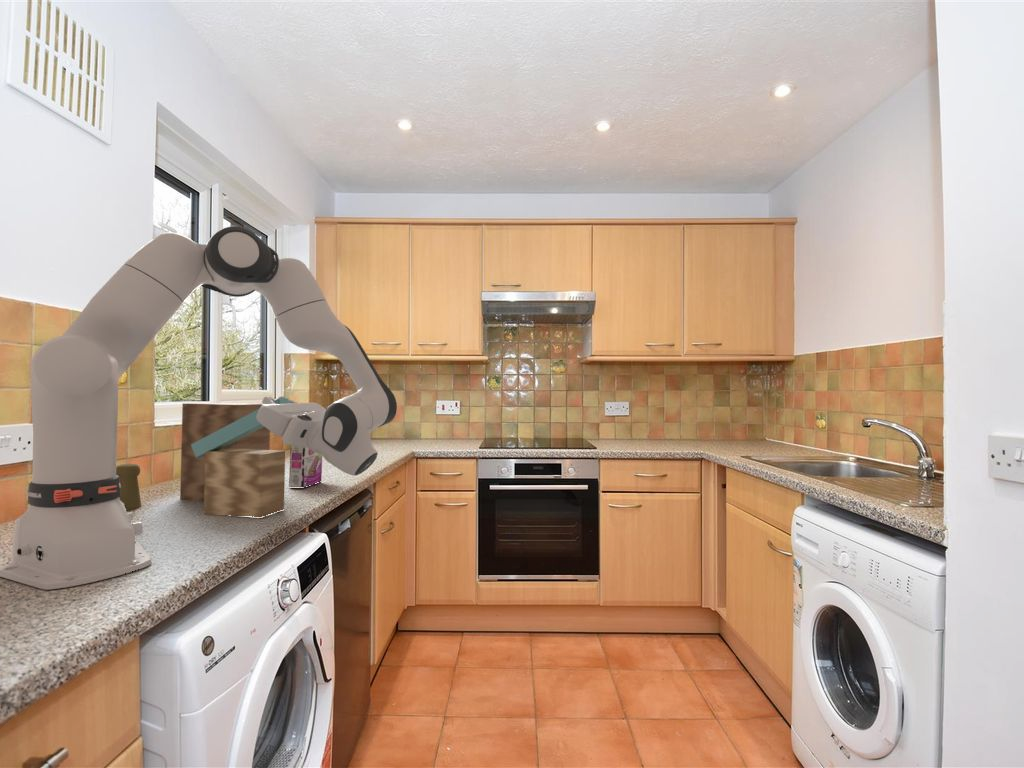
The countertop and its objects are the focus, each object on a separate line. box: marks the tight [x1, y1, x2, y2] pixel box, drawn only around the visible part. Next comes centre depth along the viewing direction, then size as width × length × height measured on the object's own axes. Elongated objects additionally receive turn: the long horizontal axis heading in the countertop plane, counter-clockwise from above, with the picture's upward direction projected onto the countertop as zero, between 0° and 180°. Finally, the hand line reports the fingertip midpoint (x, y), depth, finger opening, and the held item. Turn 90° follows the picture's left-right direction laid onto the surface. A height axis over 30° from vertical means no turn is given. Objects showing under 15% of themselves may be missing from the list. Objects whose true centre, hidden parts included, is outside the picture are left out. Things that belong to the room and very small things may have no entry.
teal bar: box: [191, 397, 290, 458], centre depth 120 cm, size 26×4×4 cm, turn 81°
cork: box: [116, 463, 142, 511], centre depth 123 cm, size 6×6×11 cm
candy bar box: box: [288, 445, 323, 488], centre depth 155 cm, size 11×5×16 cm, turn 172°
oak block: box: [203, 448, 286, 517], centre depth 121 cm, size 16×8×15 cm, turn 77°
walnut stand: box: [179, 402, 271, 502], centre depth 138 cm, size 18×12×26 cm, turn 77°
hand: (272, 399), depth 119 cm, fingers closed on teal bar, 4 cm apart
